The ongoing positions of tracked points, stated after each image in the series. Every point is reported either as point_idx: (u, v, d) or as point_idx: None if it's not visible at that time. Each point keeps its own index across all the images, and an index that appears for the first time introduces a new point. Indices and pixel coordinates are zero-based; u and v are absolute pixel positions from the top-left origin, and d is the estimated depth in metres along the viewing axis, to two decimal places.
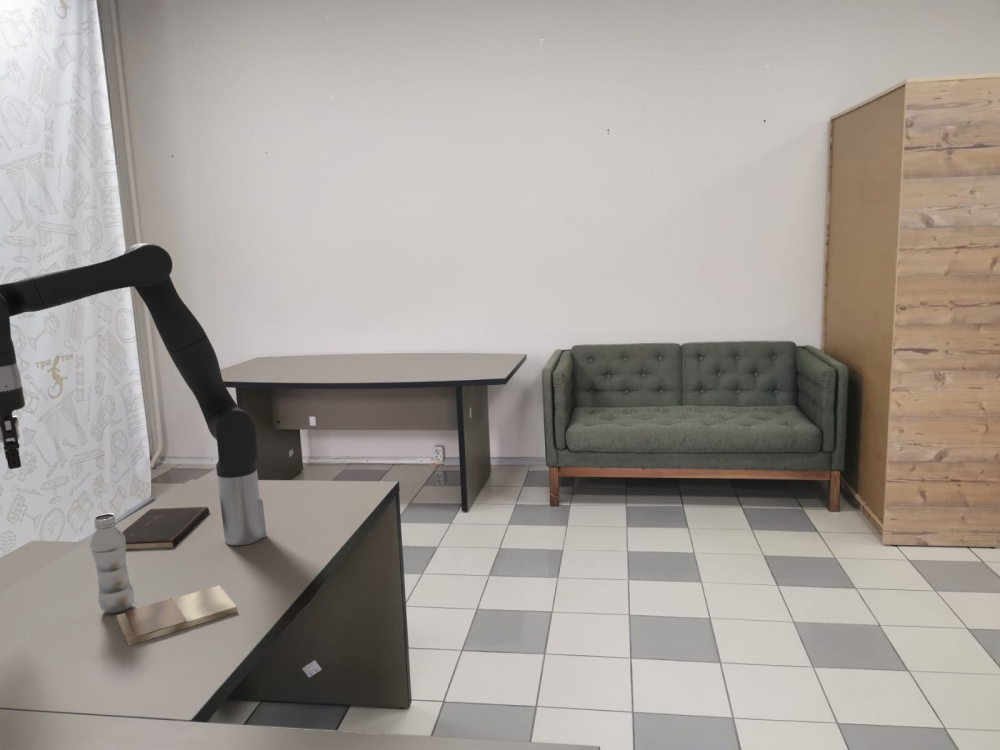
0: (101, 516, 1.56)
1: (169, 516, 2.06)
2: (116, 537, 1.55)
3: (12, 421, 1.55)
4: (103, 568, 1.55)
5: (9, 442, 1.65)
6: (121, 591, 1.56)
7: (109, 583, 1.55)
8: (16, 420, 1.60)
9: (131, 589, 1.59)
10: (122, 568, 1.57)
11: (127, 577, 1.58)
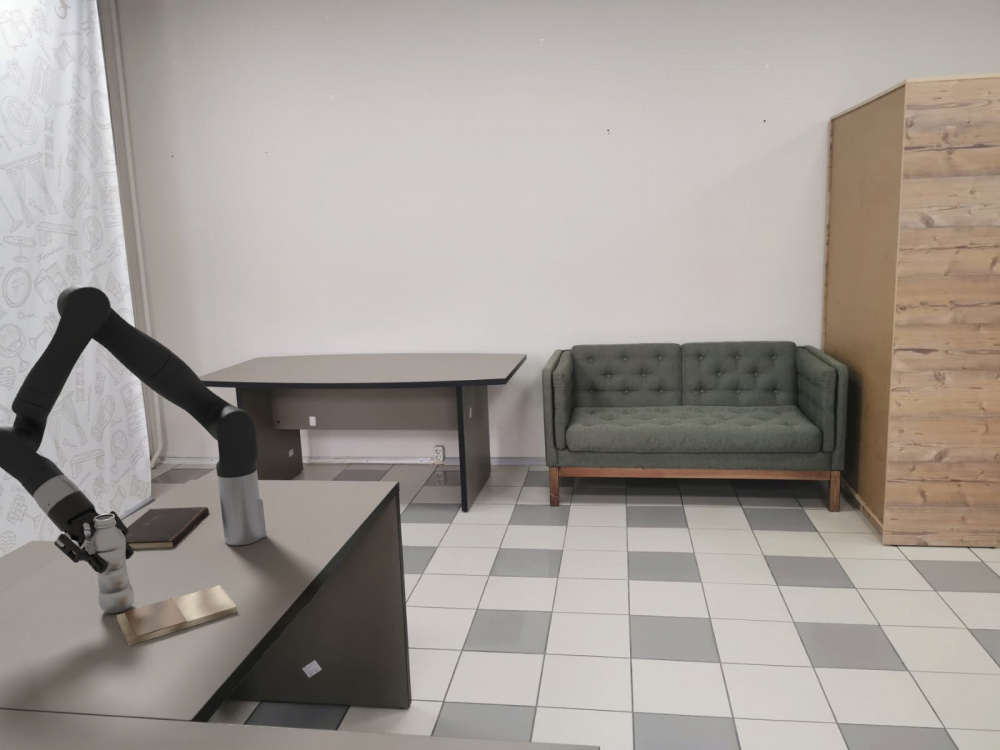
0: (101, 516, 1.56)
1: (169, 516, 2.06)
2: (116, 537, 1.55)
3: (59, 537, 1.51)
4: None
5: None
6: (120, 591, 1.56)
7: (109, 583, 1.55)
8: (82, 526, 1.55)
9: (131, 589, 1.59)
10: (121, 568, 1.57)
11: (127, 577, 1.58)
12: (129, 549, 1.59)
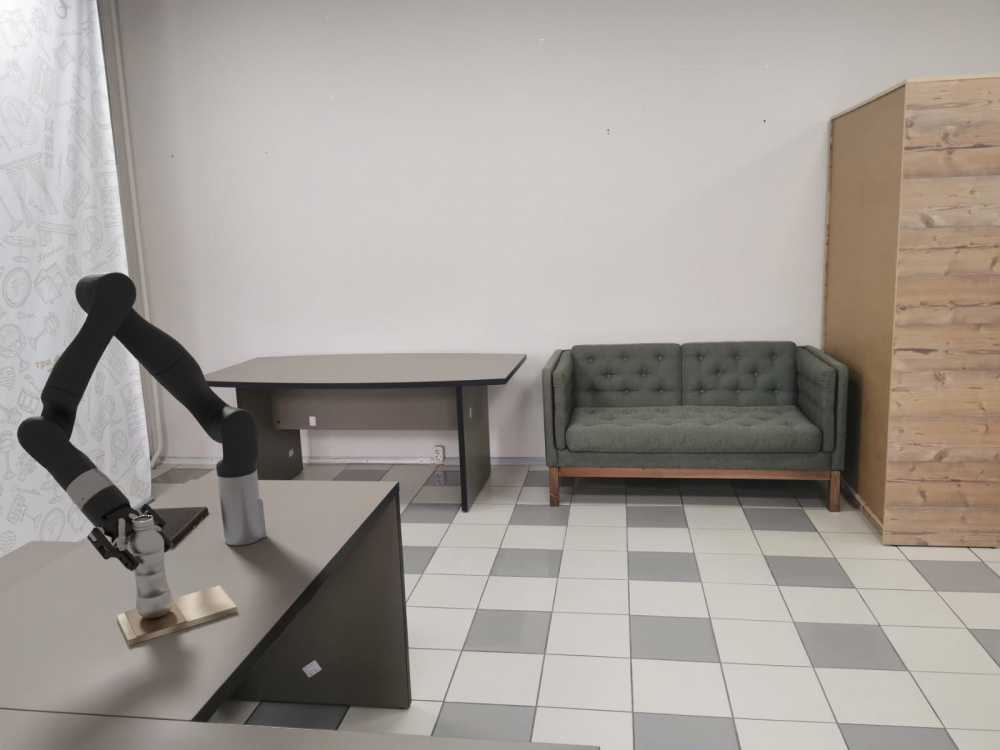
0: (139, 518, 1.51)
1: (169, 516, 2.06)
2: (155, 539, 1.49)
3: (92, 531, 1.44)
4: (141, 572, 1.49)
5: None
6: (159, 596, 1.51)
7: (148, 587, 1.49)
8: (118, 521, 1.49)
9: (169, 593, 1.53)
10: (160, 571, 1.51)
11: (165, 581, 1.52)
12: (167, 542, 1.54)
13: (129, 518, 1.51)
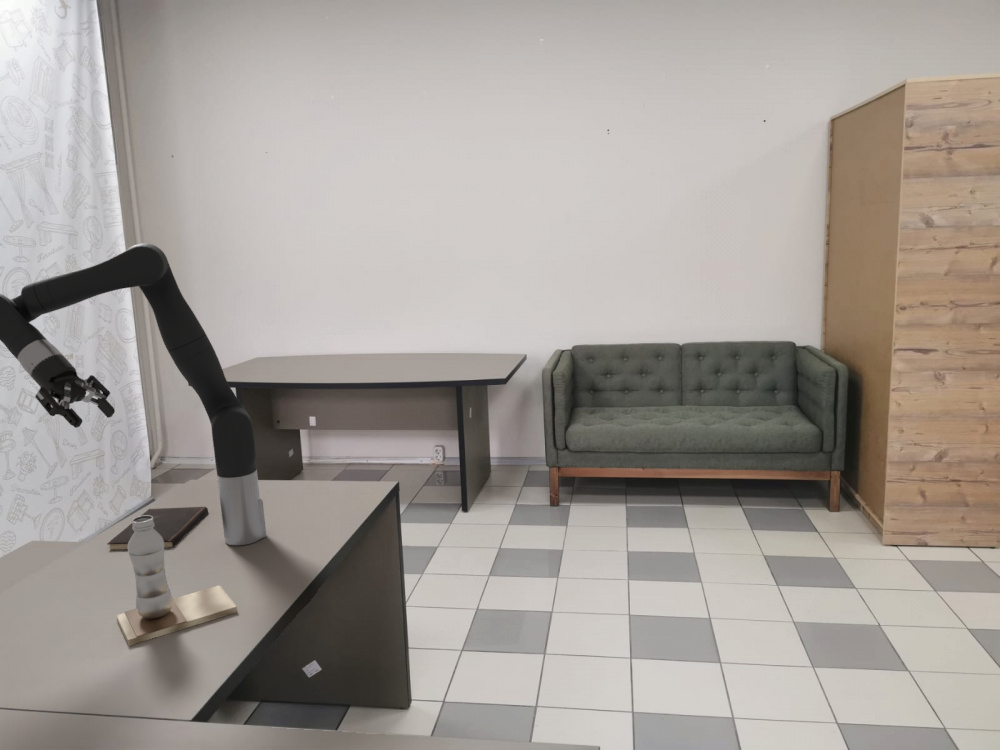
0: (139, 518, 1.51)
1: (168, 516, 2.06)
2: (155, 539, 1.49)
3: (39, 390, 1.60)
4: (141, 572, 1.49)
5: (100, 403, 1.70)
6: (159, 596, 1.51)
7: (148, 587, 1.49)
8: (64, 385, 1.64)
9: (169, 594, 1.53)
10: (160, 571, 1.51)
11: (166, 581, 1.52)
12: (110, 407, 1.69)
13: (75, 384, 1.66)
